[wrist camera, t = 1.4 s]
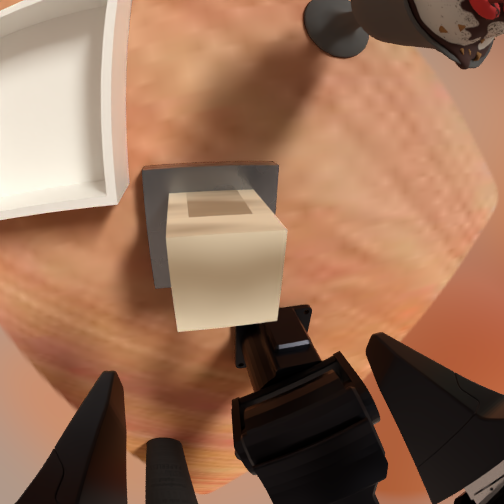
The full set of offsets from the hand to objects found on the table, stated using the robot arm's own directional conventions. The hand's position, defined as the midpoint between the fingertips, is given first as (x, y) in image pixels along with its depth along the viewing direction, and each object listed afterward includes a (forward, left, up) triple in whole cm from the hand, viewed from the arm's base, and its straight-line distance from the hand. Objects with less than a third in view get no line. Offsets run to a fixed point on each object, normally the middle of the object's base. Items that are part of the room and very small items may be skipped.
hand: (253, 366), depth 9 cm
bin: (+9, +11, -12) cm, 19 cm away
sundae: (+14, -8, -12) cm, 20 cm away
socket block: (0, 0, -11) cm, 11 cm away
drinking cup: (-31, +8, -12) cm, 34 cm away
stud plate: (0, 0, -12) cm, 12 cm away
